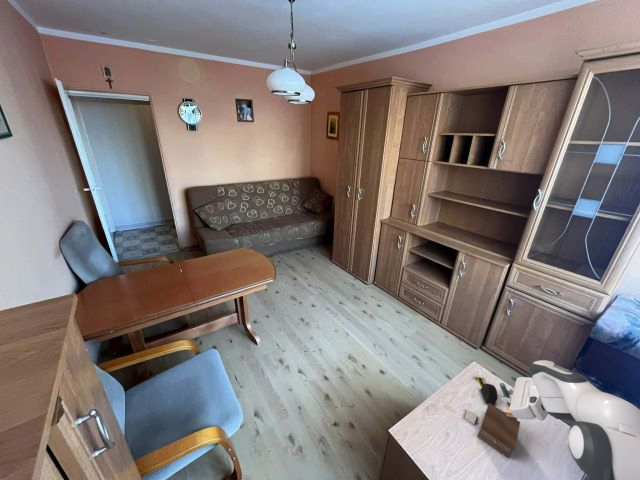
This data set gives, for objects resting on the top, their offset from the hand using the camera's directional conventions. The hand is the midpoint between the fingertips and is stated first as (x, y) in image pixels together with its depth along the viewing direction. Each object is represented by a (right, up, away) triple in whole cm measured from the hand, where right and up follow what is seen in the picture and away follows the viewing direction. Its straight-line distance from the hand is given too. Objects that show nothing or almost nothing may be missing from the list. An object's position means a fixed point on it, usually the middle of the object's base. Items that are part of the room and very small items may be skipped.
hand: (503, 395), depth 113 cm
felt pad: (-6, -17, +13) cm, 22 cm away
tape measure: (+8, -13, +26) cm, 31 cm away
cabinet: (+1, -22, +7) cm, 23 cm away
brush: (+4, -7, -1) cm, 8 cm away
